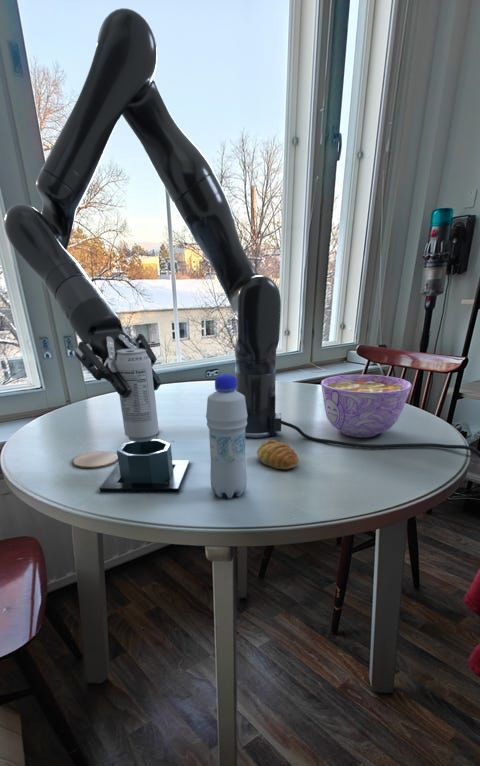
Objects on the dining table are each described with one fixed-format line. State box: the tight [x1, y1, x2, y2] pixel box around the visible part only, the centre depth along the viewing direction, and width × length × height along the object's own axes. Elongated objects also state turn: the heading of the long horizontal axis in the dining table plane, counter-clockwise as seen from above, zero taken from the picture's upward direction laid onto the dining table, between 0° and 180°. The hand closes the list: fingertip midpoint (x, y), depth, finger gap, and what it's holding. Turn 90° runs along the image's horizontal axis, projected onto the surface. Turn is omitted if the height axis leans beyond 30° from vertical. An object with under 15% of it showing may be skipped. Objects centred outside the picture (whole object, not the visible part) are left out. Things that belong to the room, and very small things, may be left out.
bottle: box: [205, 373, 248, 499], centre depth 75 cm, size 7×7×20 cm
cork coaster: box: [73, 451, 118, 469], centre depth 95 cm, size 9×9×1 cm
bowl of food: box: [320, 374, 413, 438], centre depth 106 cm, size 20×20×12 cm
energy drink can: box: [115, 348, 160, 442], centre depth 80 cm, size 6×6×15 cm
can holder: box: [99, 438, 190, 494], centre depth 85 cm, size 14×14×6 cm
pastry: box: [256, 439, 300, 470], centre depth 91 cm, size 9×7×4 cm
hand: (143, 390), depth 78 cm, fingers closed on energy drink can, 6 cm apart
